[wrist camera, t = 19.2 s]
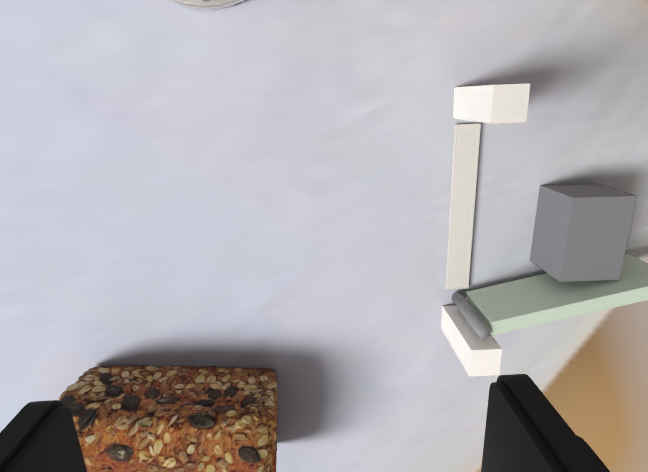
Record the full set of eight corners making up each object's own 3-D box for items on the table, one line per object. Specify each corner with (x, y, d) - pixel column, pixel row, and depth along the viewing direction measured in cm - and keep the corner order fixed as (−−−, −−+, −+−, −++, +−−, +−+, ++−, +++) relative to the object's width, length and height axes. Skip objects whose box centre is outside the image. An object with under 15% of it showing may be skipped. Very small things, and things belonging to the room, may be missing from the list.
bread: (97, 443, 44) (40, 539, 35) (87, 354, 41) (21, 432, 31) (278, 448, 45) (271, 541, 36) (283, 362, 42) (276, 439, 32)
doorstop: (539, 185, 37) (573, 197, 33) (595, 183, 38) (637, 196, 33) (529, 259, 40) (559, 281, 35) (581, 257, 40) (619, 279, 35)
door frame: (454, 87, 34) (493, 84, 27) (484, 86, 35) (530, 83, 27) (441, 328, 41) (469, 376, 34) (465, 326, 41) (499, 374, 34)
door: (625, 252, 39) (684, 280, 33) (625, 264, 40) (684, 294, 33) (450, 293, 40) (477, 328, 34) (452, 304, 40) (478, 341, 34)
